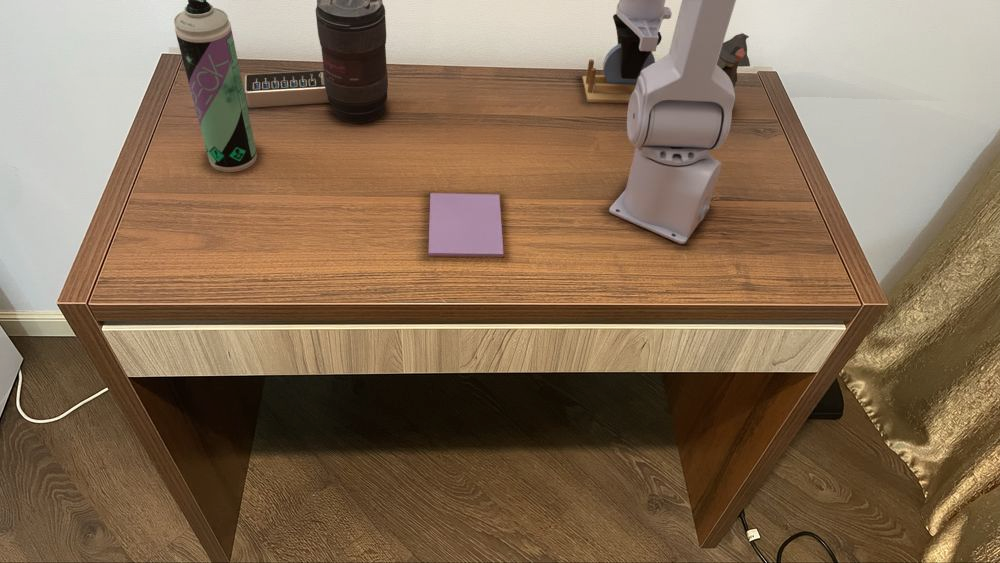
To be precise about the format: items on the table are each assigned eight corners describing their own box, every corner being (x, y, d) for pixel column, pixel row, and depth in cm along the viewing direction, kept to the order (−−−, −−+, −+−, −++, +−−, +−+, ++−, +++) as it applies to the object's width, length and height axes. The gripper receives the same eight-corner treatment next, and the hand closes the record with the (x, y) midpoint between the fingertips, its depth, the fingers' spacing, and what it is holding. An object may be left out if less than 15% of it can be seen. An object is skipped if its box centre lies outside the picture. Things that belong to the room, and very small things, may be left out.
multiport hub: (247, 89, 100) (244, 74, 99) (332, 84, 102) (330, 69, 101) (247, 108, 97) (244, 92, 96) (334, 102, 99) (332, 87, 98)
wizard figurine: (687, 98, 106) (710, 17, 97) (724, 96, 107) (750, 16, 98) (711, 133, 100) (737, 50, 91) (749, 130, 101) (779, 48, 92)
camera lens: (323, 126, 96) (309, 14, 85) (331, 91, 101) (318, -18, 90) (387, 128, 96) (382, 17, 85) (391, 93, 102) (386, -15, 91)
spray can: (211, 145, 91) (170, -16, 77) (258, 143, 92) (226, -17, 78) (207, 173, 88) (163, 9, 73) (256, 170, 89) (222, 8, 74)
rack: (657, 81, 108) (664, 56, 106) (666, 104, 104) (672, 78, 101) (582, 78, 108) (586, 53, 105) (587, 102, 103) (591, 76, 100)
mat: (430, 196, 87) (430, 192, 87) (499, 197, 88) (499, 194, 88) (428, 256, 80) (428, 252, 80) (503, 257, 81) (503, 254, 81)
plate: (648, 87, 106) (658, 41, 101) (649, 91, 105) (660, 45, 100) (599, 85, 106) (607, 39, 101) (600, 89, 105) (608, 43, 100)
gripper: (691, 4, 89) (666, 103, 99) (667, -48, 99) (646, 47, 109) (633, 1, 89) (613, 101, 99) (614, -50, 99) (598, 45, 109)
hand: (627, 73), depth 104 cm, fingers closed
